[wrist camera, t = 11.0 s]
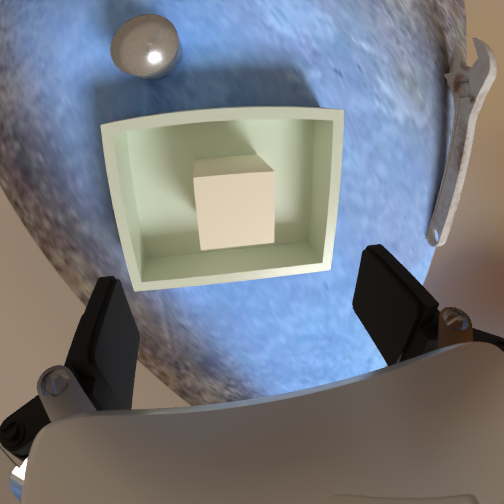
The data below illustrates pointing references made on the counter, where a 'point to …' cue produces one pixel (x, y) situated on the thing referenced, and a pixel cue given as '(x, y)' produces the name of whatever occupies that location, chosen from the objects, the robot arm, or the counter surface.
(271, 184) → the flour box
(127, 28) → the tea tin
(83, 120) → the counter surface
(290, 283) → the counter surface
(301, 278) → the counter surface
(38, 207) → the counter surface
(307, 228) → the crate
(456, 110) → the wrench
